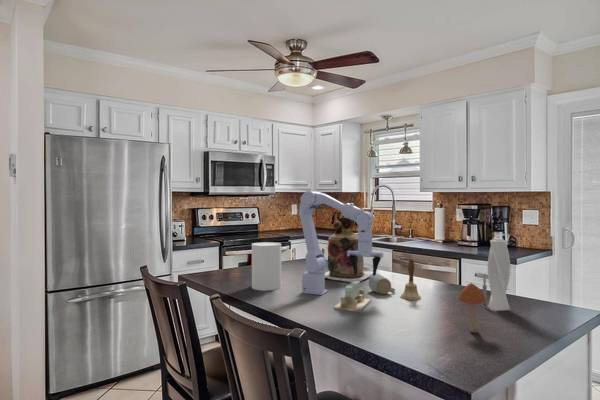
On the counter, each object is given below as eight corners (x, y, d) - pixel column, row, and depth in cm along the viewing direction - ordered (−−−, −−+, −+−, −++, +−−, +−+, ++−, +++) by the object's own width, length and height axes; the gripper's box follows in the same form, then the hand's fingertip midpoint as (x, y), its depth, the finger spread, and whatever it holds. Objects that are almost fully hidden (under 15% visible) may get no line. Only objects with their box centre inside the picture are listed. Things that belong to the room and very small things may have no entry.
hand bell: (422, 296, 166) (422, 258, 166) (419, 301, 159) (419, 261, 159) (402, 294, 170) (402, 256, 170) (398, 298, 162) (398, 259, 162)
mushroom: (453, 327, 127) (453, 280, 127) (477, 326, 128) (477, 280, 127) (466, 336, 119) (466, 286, 119) (491, 335, 120) (491, 285, 119)
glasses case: (345, 300, 148) (345, 287, 148) (353, 293, 160) (353, 280, 160) (351, 301, 147) (351, 287, 147) (360, 293, 159) (359, 281, 159)
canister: (263, 292, 175) (263, 246, 174) (246, 286, 185) (246, 243, 184) (287, 287, 183) (287, 243, 183) (269, 282, 194) (269, 241, 193)
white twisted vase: (500, 305, 153) (501, 232, 153) (515, 311, 145) (515, 234, 145) (480, 306, 152) (481, 233, 151) (494, 313, 144) (495, 235, 143)
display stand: (334, 308, 148) (334, 296, 148) (346, 298, 163) (346, 287, 163) (360, 311, 144) (360, 299, 144) (370, 301, 159) (370, 289, 159)
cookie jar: (337, 270, 224) (336, 213, 224) (377, 275, 210) (377, 215, 209) (312, 278, 204) (312, 215, 204) (355, 284, 190) (355, 217, 189)
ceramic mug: (377, 295, 167) (377, 277, 167) (367, 291, 175) (368, 273, 175) (399, 294, 171) (399, 276, 171) (389, 290, 179) (389, 272, 178)
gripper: (345, 241, 162) (345, 274, 162) (380, 243, 156) (380, 277, 156) (349, 239, 168) (349, 271, 168) (384, 241, 163) (384, 274, 163)
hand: (365, 274), depth 163 cm, fingers open, 7 cm apart
